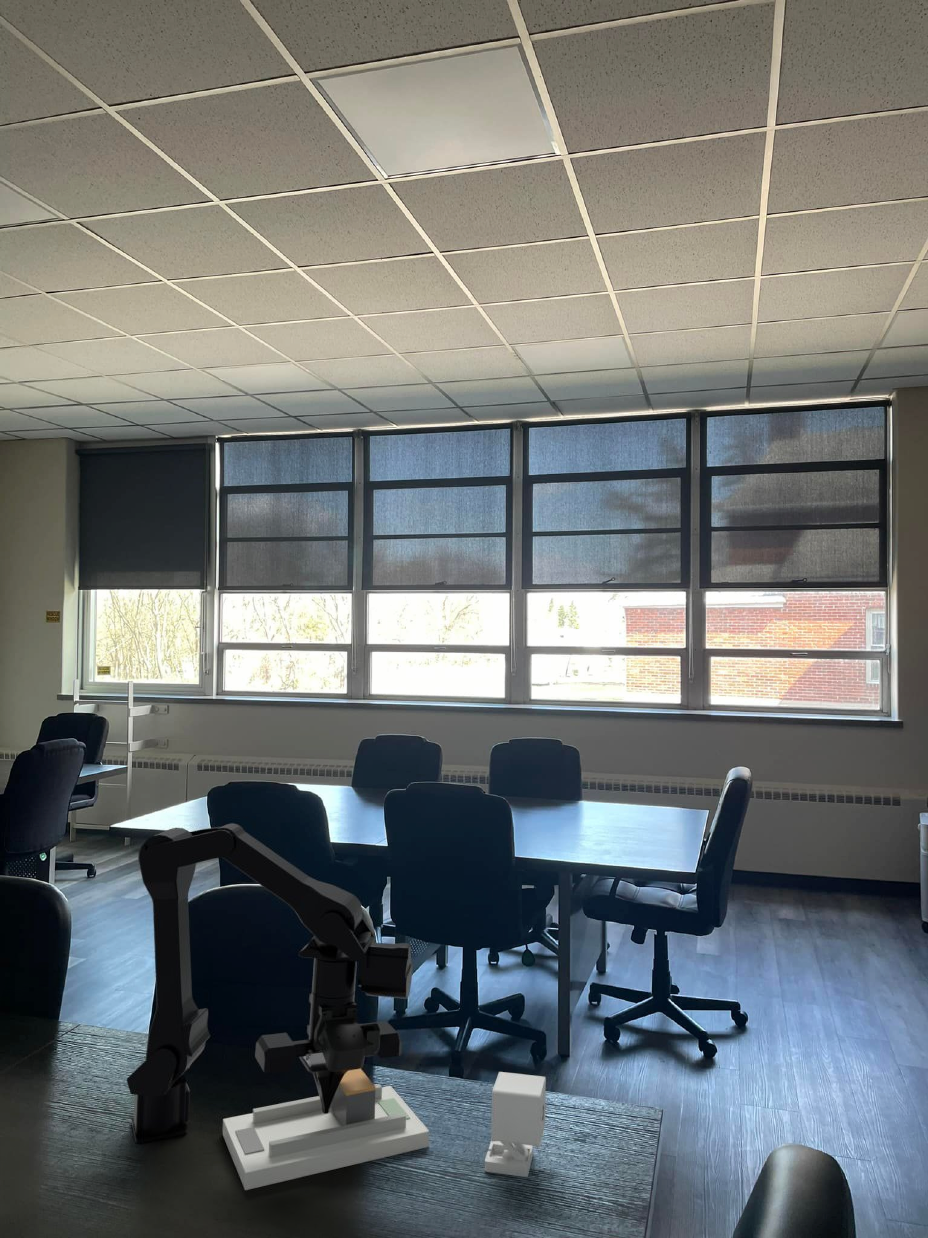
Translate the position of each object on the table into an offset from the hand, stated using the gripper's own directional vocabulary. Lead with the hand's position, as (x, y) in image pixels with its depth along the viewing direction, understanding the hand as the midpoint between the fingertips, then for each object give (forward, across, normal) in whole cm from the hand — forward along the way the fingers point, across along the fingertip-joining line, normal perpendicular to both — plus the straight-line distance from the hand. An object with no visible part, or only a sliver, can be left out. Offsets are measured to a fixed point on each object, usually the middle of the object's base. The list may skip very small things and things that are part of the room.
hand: (325, 1112), depth 117 cm
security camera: (+3, +21, -15) cm, 26 cm away
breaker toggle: (+1, +4, 0) cm, 4 cm away
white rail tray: (+4, 0, 0) cm, 4 cm away
